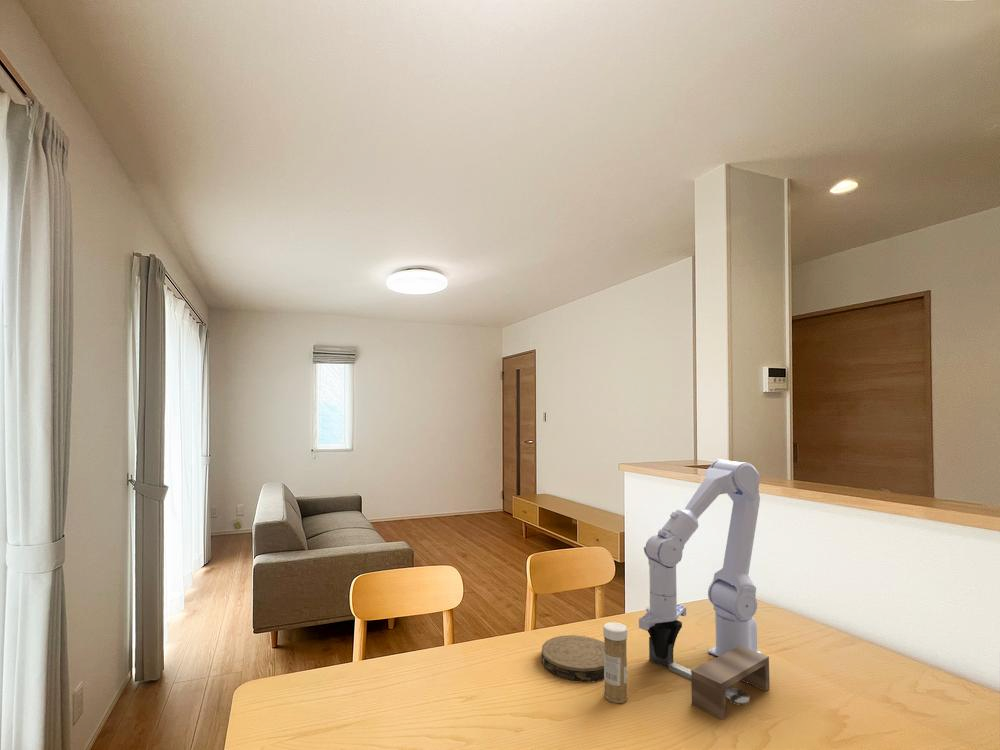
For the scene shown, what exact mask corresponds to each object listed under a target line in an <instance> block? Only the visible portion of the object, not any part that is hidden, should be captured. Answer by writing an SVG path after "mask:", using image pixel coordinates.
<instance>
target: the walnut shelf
mask: <svg viewBox="0 0 1000 750" xmlns="http://www.w3.org/2000/svg"><path fill="white" fill-rule="evenodd" d="M690 670H691V680H690V682H691V683H690V685H691V686H690V687H691V689H690V690H691V705H692V706H693V707H696V708H698V709H700V710H702V711H704V712H706V713H707V714H709V715H712V716H713V717H715V718H717V719H719V720H723V719H725V718H726V717H727V709H726V708H727V705H726V704H727V700H726V688H727V687H728V686H730V685H732V684H735V683H738V681H742V682H744V681H745V682H744V683H747V682H748V683H747V684H749V683H750V684H749V685H751V684H752V685H751V686H753V685H754V687H756V686H757V687H756V688H758V687H759V688H758V689H760V688H762V689H761V690H763V689H764V690H763V691H765V690H767V691H768V690H769V688H771V687H770V656H768V655H765V654H763V653H762V652H761V653H758V652H755V651H753V650H750V649H747V648H745V647H742V646H738V647H736V648H734V649H732V650H730V651H729V652H727V653H725V654H723V655H721V656H719V657H718V656H716V657H715V658H713V659H710V660H709V661H707V662H705V663H703V664H701V665H699V666H696V667H695V668H693V669H690Z"/></svg>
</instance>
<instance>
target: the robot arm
mask: <svg viewBox="0 0 1000 750" xmlns="http://www.w3.org/2000/svg"><path fill="white" fill-rule="evenodd" d="M704 475H705V477H704V479H703V481H702V482H701V484H700V485H699V487H698V488H697V489H696V491H695V492H694V493H693V495H692V497H691V499H690V500H689V502H688V503H687V505H685V507H684V508H681V509H677V510H675V511H672V512H671V513H670V515H669V517H670V518H669V519H668V520H667V522H666V523H665V524H664V526H663V527H661V529H659V530H658V531H657V532H658V533H657V534H654V535H652V536H650V537H649V538H648V540H647V541H646V543H645V546H644V547H643V552H644V555H645V556H646V558H647V559H648V566H649V567H648V568H649V570H648V571H649V573H648V574H649V606H647V607H646V608H645V611H646V613H645V614H644V615H643V616H642V617H640V618H638V628H639V629H641V630H644V631H646V632H647V633H648V635H649V637H651V640H652V643H653V647H654V651H655V655H656V656H657V657H659V658H661V659H665V657H666V650H667V641H670V642H672V643H673V649H674V648H675V643H676V640H677V637H678V634H679V633H680V631H681V629H682V627H683V623H682V621H680V620H678V619H679V618H680V617H681V616H682V617H686V616H687V607H686V606H684V605H683V604H678V595H677V590H678V589H677V565H678V563H680V562H681V561H682V559H683V550H684V549H685V545H686V544H687V542H688V541H689V540H690V539H691V537H692V535H694V533H695V532H696V531H697V529H698V528H699V522H698V521H699V520H698V519H699V518H700V517H701V515H702V514H703V513H705V512H706V510H707V509H708V508H709V507H710V506H711V504H713V503H714V501H715V500H716V499H717V498H718V497H719V496H720V495H723V494H724V495H725V494H727V496H728V497H729V498H730V499H731V500H732V507H731V508H732V509H731V515H730V521H729V528H728V533H727V540H726V545H725V546H726V547H725V552H724V557H723V565H722V568H720V569H719V570H717V571H716V572H715V573H714V574H713V578H712V581H711V583H710V585H709V586H708V590H707V596H708V600H709V601H710V603H711V604H712V605H713V611H714V612H715V614H714V615H715V617H714V618H715V621H714V622H715V646H714V647H712V648H709V649H708V650H707V652H708V653H709V654H711V655H713V656H716V657H719V656H721V655H723V654H725V653H727V652H729V651H730V650H732V649H734V648H736V647H738V646H742V647H745V648H747V649H750V650H753V651H755V652H758V653H761V654H762V652H761V651H760V650H758V625H757V622H756V620H755V618H754V616H755V614H756V612H757V610H758V601H757V595H756V594H757V587H756V585H755V583H754V582H753V580H752V578H750V576H749V572H750V566H751V560H752V559H751V558H752V553H753V546H754V540H755V533H756V528H757V522H758V516H759V515H758V514H759V509H760V503H761V501H760V500H761V497H760V490H759V489H760V483H761V482H760V481H761V474H760V473H759V471H758V470H757V469H756V467H755V466H754V465H753V464H752V463H750V462H744V461H743V462H740V461H732V460H726V459H722V458H719V459H715V460H714V461H712V463H711V464H710V466H709V467H708V468H707V469H705V474H704Z"/></svg>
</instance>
